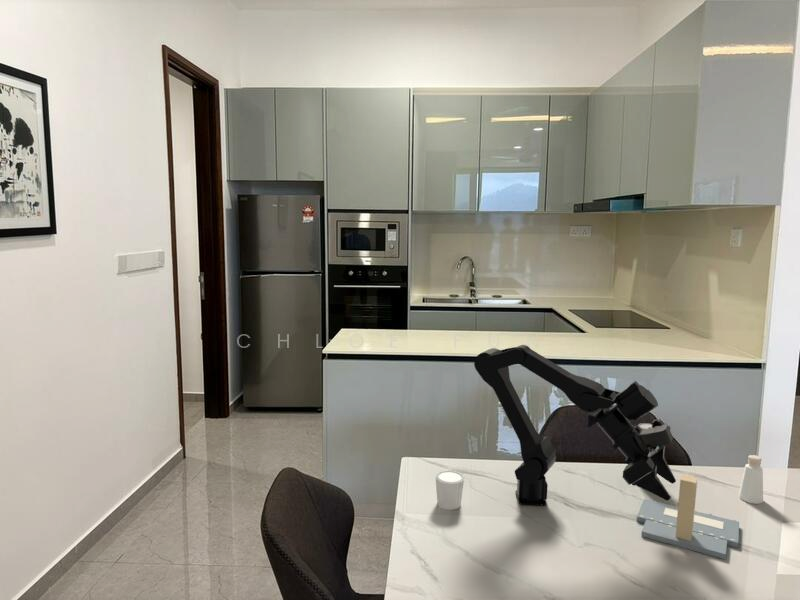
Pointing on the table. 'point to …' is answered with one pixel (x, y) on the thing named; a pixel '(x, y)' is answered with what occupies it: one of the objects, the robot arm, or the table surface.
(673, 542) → the grey slab with post
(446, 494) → the shot glass
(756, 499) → the pepper shaker
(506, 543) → the table surface
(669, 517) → the board
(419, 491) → the table surface
